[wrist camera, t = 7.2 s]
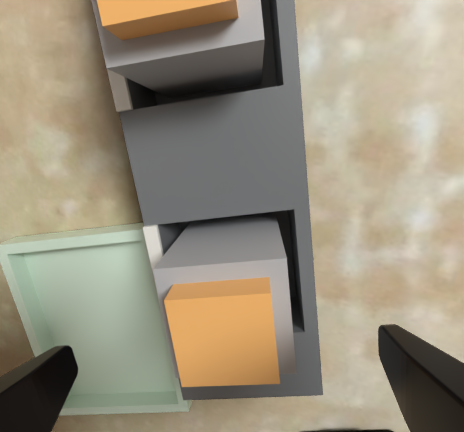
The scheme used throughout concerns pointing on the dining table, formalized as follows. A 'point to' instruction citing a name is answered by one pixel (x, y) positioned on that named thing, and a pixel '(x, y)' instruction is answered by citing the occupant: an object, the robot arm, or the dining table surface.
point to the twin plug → (183, 43)
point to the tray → (96, 316)
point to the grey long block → (232, 178)
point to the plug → (227, 302)
